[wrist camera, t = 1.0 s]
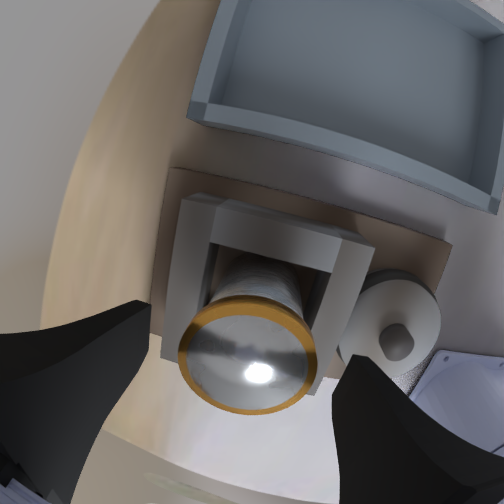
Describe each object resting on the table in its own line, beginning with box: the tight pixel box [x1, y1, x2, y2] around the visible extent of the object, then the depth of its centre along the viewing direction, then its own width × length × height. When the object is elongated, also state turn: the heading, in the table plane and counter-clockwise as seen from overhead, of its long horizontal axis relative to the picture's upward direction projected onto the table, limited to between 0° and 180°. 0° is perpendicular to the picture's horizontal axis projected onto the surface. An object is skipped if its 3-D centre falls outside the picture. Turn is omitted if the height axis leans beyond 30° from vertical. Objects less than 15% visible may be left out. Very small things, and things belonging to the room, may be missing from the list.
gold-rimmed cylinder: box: [178, 252, 318, 415], centre depth 13 cm, size 5×5×7 cm
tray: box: [186, 0, 504, 215], centre depth 11 cm, size 16×12×3 cm
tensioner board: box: [150, 167, 453, 396], centre depth 15 cm, size 16×10×4 cm, turn 77°
